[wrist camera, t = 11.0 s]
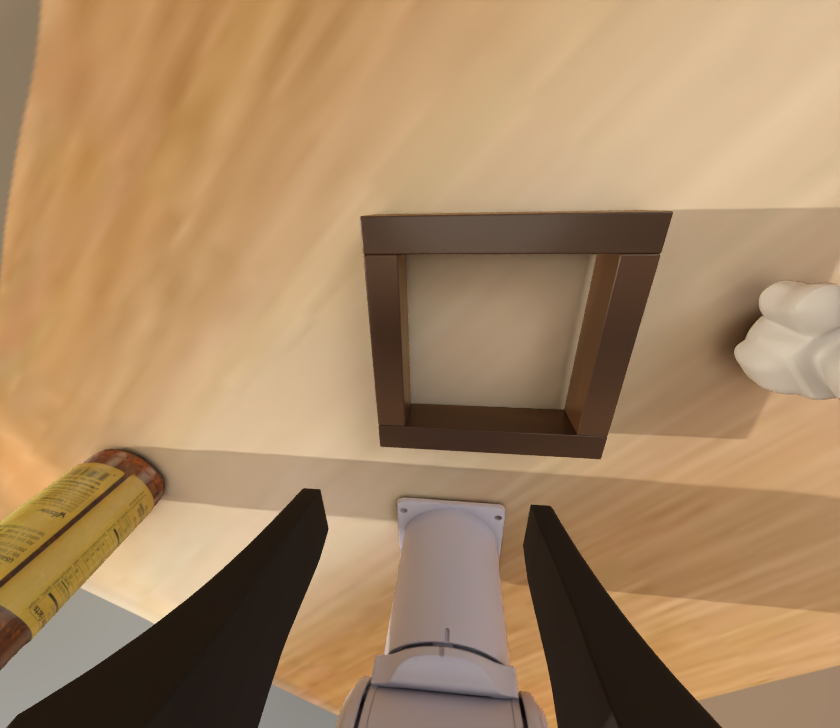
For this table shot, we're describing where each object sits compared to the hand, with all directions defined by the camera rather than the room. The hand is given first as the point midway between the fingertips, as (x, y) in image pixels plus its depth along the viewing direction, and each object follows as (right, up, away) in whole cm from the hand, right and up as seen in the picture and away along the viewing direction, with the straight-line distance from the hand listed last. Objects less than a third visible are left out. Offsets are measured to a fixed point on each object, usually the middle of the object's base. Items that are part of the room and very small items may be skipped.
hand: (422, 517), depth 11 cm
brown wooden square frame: (+4, +7, +7) cm, 11 cm away
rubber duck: (+18, +7, +6) cm, 20 cm away
